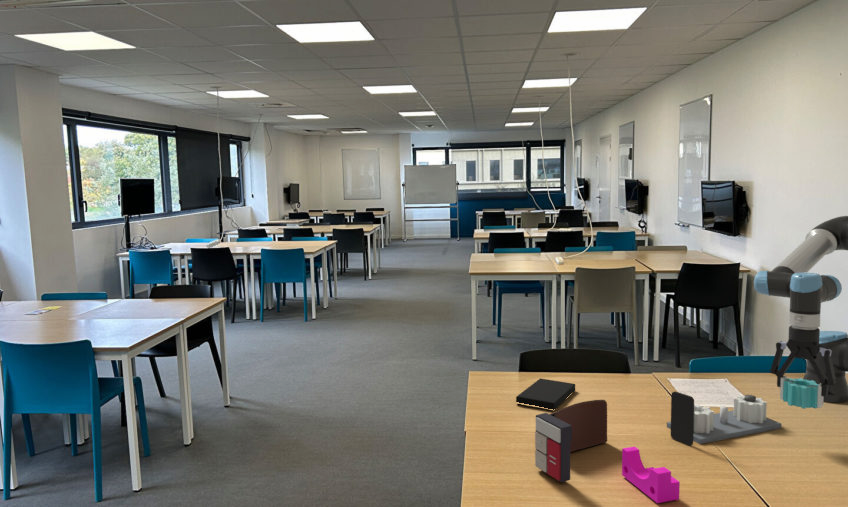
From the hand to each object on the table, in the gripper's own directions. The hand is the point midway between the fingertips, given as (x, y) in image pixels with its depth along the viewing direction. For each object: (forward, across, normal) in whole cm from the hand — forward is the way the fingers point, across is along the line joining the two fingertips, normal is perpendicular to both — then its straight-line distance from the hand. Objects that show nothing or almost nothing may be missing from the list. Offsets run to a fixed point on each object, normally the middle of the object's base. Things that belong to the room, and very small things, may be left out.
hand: (801, 402), depth 174 cm
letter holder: (+13, -47, -46) cm, 67 cm away
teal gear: (0, 0, 0) cm, 0 cm away
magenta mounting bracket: (+13, -18, -54) cm, 58 cm away
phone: (+13, -24, -23) cm, 36 cm away
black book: (+13, -77, -19) cm, 81 cm away
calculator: (+12, -39, -66) cm, 78 cm away
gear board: (+13, -20, -3) cm, 24 cm away
